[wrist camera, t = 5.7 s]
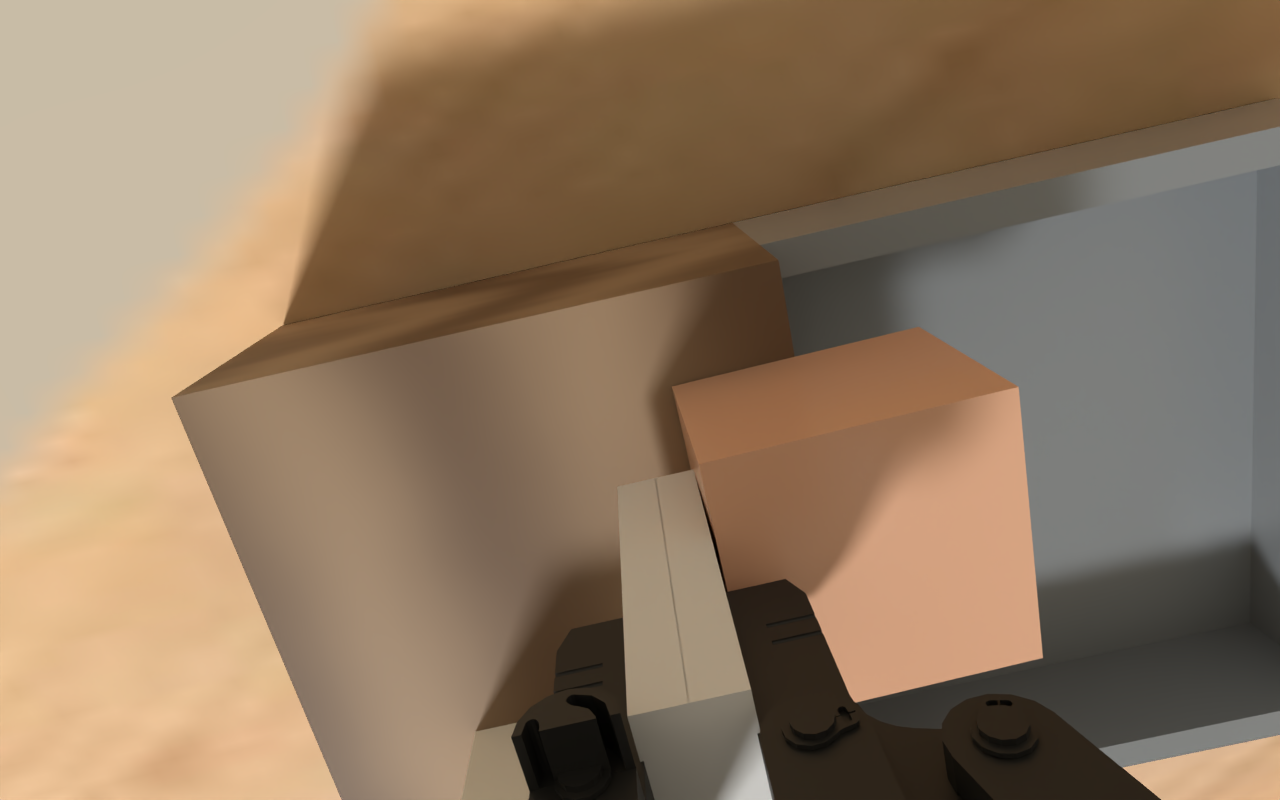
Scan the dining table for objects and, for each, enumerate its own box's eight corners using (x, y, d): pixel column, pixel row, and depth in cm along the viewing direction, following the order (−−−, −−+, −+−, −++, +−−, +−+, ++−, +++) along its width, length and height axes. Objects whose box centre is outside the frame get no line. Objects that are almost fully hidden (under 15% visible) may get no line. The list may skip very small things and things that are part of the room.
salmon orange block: (918, 326, 17) (1018, 386, 13) (946, 546, 18) (1043, 658, 14) (671, 386, 17) (699, 464, 13) (721, 600, 18) (757, 725, 14)
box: (1275, 98, 21) (1421, 94, 18) (1263, 629, 26) (1373, 715, 23) (732, 222, 22) (759, 244, 18) (823, 722, 27) (859, 821, 23)
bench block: (732, 222, 22) (778, 259, 16) (823, 722, 27) (882, 885, 21) (282, 325, 22) (171, 397, 16) (456, 799, 27) (418, 980, 21)
